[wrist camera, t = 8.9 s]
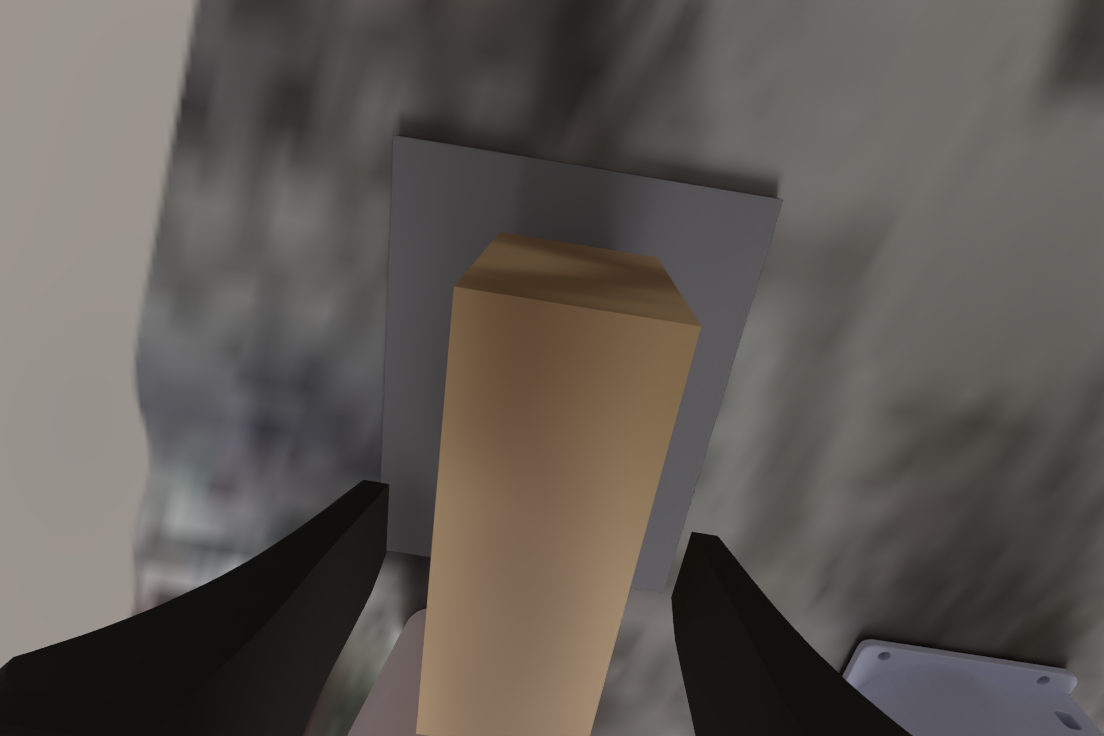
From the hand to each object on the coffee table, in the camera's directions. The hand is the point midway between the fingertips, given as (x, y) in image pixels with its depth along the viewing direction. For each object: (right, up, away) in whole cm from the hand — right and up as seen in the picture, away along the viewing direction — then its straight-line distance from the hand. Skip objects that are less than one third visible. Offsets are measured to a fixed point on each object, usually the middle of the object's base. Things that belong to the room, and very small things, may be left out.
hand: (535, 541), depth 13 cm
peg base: (0, +3, +7) cm, 8 cm away
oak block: (0, +2, +5) cm, 5 cm away
